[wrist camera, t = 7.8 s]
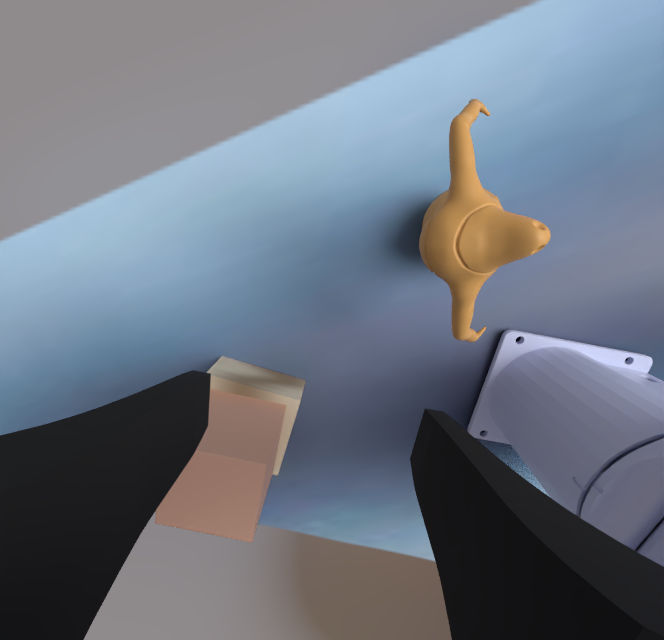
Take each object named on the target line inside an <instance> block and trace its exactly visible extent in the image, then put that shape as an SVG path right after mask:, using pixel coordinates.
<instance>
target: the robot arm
mask: <svg viewBox="0 0 664 640" xmlns="http://www.w3.org/2000/svg"><path fill="white" fill-rule="evenodd" d="M519 336H521V339H520V341H518V342H516V339H517V337H519ZM626 358H628V359H627V361H625V360H626ZM652 363H653V361H652V359H651V357H648V356H646V355H644V354H639V353H633V352H628V351H623V350H618V349H612V348H607V347H602V346H596V345H591V344H586V343H580V342H575V341H570V340H565V339H559V338H554V337H549V336H543V335H538V334H533V333H527V332H522V331H517V330H506V331H505V332H504V333H503V334H502V336H501V339H500V341H499V344H498V347H497V349H496V352H495V355H494V358H493V360H492V363H491V366H490V368H489V371H488V374H487V377H486V379H485V382H484V385H483V387H482V390H481V393H480V396H479V398H478V401H477V404H476V406H475V409H474V412H473V415H472V417H471V420H470V423H469V425H468V429H467V431H468V432H467V431H466V430H465V429H464V428H463V427H461V426H460V425H459V424H458V423H457V422H456V421H454V420H453V419H452V418H451V417H450V416H448V415H447V414H446V413H444V412H442V411H436V410H430V409H425V410H424V414H423V417H422V420H421V424H420V427H419V431H418V434H417V437H416V441H415V444H414V448H413V451H412V454H411V458H410V460H411V467H412V474H413V480H414V486H415V491H416V495H417V498H418V502H419V505H420V509H421V512H422V516H423V519H424V523H425V526H426V530H427V533H428V537H429V540H430V543H431V547H432V550H433V554H434V557H435V561H436V564H437V568H438V572H439V576H440V580H441V585H442V590H443V595H444V600H445V605H446V610H447V615H448V620H449V625H450V631H451V637H452V640H664V381H662V380H660V379H658V378H656V377H654V376H652V375H650V374H648V371H649V369H650V367H651V366H652ZM210 382H211V373H205V372H198V371H190V372H187V373H184V374H181V375H179V376H176V377H174V378H172V379H169V380H167V381H165V382H162V383H160V384H157V385H155V386H153V387H150V388H148V389H146V390H143V391H141V392H138V393H136V394H133V395H131V396H128V397H126V398H123V399H120V400H118V401H115V402H112V403H110V404H107V405H104V406H102V407H99V408H96V409H93V410H91V411H88V412H85V413H82V414H78V415H75V416H72V417H69V418H65V419H62V420H59V421H55V422H52V423H49V424H45V425H41V426H37V427H33V428H29V429H25V430H21V431H17V432H13V433H9V434H5V435H1V436H0V640H83V639H84V637H85V635H86V634H87V631H88V629H89V628H90V626H91V624H92V622H93V620H94V618H95V616H96V614H97V612H98V610H99V609H100V607H101V605H102V603H103V601H104V599H105V597H106V596H107V593H108V592H109V590H110V588H111V586H112V584H113V582H114V580H115V579H116V577H117V575H118V573H119V571H120V570H121V567H122V566H123V564H124V562H125V561H126V559H127V557H128V555H129V553H130V551H131V550H132V548H133V546H134V544H135V543H136V541H137V539H138V537H139V536H140V534H141V532H142V530H143V529H144V527H145V526H146V524H147V523H148V521H149V520H150V518H151V517H152V515H153V513H154V512H155V511H156V509H157V508H158V506H159V505H160V503H161V502H162V501H163V499H164V498H165V496H166V495H167V493H168V492H169V490H170V489H171V487H172V486H173V484H174V483H175V481H176V480H177V479H178V477H179V476H180V474H181V473H182V471H183V470H184V468H185V467H186V465H187V464H188V462H189V461H190V459H191V458H192V456H193V455H194V453H195V451H196V449H197V447H198V445H199V443H200V442H201V440H202V437H203V435H204V433H205V431H206V429H207V427H208V419H209V401H210ZM483 430H485V431H484V432H483V433H480V432H481V431H483ZM475 438H478V439H483V440H489V441H494V442H499V443H505V444H510V445H512V447H513V448H514V449H515V451H516V452H517V453H518V455H519V456H520V457H521V459H522V460H523V461H524V463H525V464H526V465H527V467H528V468H529V469H530V471H531V472H532V473H533V475H534V476H535V477H536V479H537V480H538V481H539V483H540V484H541V485H542V487H543V488H544V489H545V491H546V492H547V493H548V495H549V496H550V497H551V498H550V497H549V496H547V495H546V494H544V493H543V492H541V491H540V490H539V489H537V488H536V487H534V486H533V485H532V484H530V483H529V482H528V481H526V480H525V479H524V478H523V477H521V476H520V475H519V474H517V473H516V472H515V471H514V470H512V469H511V468H510V467H509V466H507V465H506V464H505V463H504V462H502V461H501V460H500V459H499V458H497V457H496V456H495V455H494V454H493V453H491V452H490V451H489V450H488V449H487V448H486V447H484V446H483V445H482V444H481V443H480V442H479V441H478V440H476V439H475Z"/></svg>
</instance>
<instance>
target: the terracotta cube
mask: <svg viewBox="0 0 664 640" xmlns="http://www.w3.org/2000/svg"><path fill="white" fill-rule="evenodd" d="M285 410H286V405H284V404H279V403H274V402H270V401H265V400H260V399H256V398H251V397H246V396H241V395H237V394H232V393H227V392H222V391H218V390H213V389H210V401H209V419H208V427H207V429H206V431H205V433H204V435H203V437H202V440H201V442H200V443H199V445H198V447H197V449H196V451H195V453H194V455H193V456H192V458H191V459H190V461H189V462H188V464H187V465H186V467H185V468H184V470H183V471H182V473H181V474H180V476H179V477H178V479H177V480H176V481H175V483H174V484H173V486H172V487H171V489H170V490H169V492H168V493H167V495H166V496H165V498H164V499H163V501H162V502H161V503H160V505H159V506H158V508H157V509H156V520H155V523H156V524H161V525H167V526H171V527H176V528H182V529H187V530H192V531H196V532H202V533H206V534H211V535H217V536H221V537H226V538H232V539H236V540H241V541H246V542H253V538H254V535H255V532H256V528H257V525H258V521H259V518H260V515H261V511H262V508H263V504H264V501H265V497H266V494H267V491H268V487H269V484H270V480H271V477H272V474H273V470H274V466H275V461H276V455H277V450H278V445H279V440H280V435H281V430H282V425H283V420H284V415H285Z"/></svg>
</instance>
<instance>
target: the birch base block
mask: <svg viewBox="0 0 664 640" xmlns="http://www.w3.org/2000/svg"><path fill="white" fill-rule="evenodd" d="M206 373H211V382H210V389H213V390H218V391H222V392H227V393H232V394H237V395H241V396H246V397H251V398H256V399H260V400H265V401H270V402H274V403H279V404H284V405H286V410H285V415H284V420H283V425H282V430H281V435H280V440H279V445H278V450H277V455H276V461H275V466H274V470H273V475H276V476H278V473H279V470H280V467H281V463H282V460H283V457H284V453H285V450H286V447H287V444H288V440H289V437H290V434H291V431H292V427H293V424H294V421H295V418H296V414H297V411H298V408H299V405H300V401H301V397H302V394H303V390H304V386H305V382H306V380H303V379H300V378H296V377H293V376H289V375H286V374H282V373H279V372H275V371H272V370H269V369H265V368H262V367H258V366H255V365H251V364H248V363H244V362H241V361H237V360H234V359H231V358H227V357H224V356H221V357H220V359H219V360H218V361H217V362H216V363H215V364H214V365H213V366H212V367H211V368H210V369H209V370H208V371H207V372H206Z"/></svg>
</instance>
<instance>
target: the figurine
mask: <svg viewBox="0 0 664 640" xmlns="http://www.w3.org/2000/svg"><path fill="white" fill-rule="evenodd" d="M479 111H480V112H482V113H484V114H485V115H487V116H490V113H489V112H488V110H487V109H486V107H485V105H484V104H483V103H482V102H481V101H479V100H477V99H472V100H470V101H469V104H468V105H467V106H466V107H465V108H464V109H463V110H462V111H461V113H460V114H459V115H457V116H456V117H455V118H454V119H453V121H452V123H451V126H450V133H449V156H450V172H451V181H450V187H449V190H447V191H445V192H444V193H442V194H441V195H439V196H438V197H437V198H436V199H435V200H434V201H433V202H432V203H431V205H430V206H429V208H428V209H427V211H426V213H425V216H424V219H423V223H422V232H421V235H420V240H419V250H420V254H421V257H422V260H423V261H424V263H425V265H426V266H427V267H428V269H429V270H430V271H431V272H434V273H435V275H437V276H438V277H440V278H441V279H443V280H444V281H445V282H446V283H447V284H448V285H449V287H450V291H451V295H452V332H453V336H454V337H455V338H456V339H457V340H465V341H468V342H475V341H476V340H477V339H478V338H479V337H480V336H481V335H482V333H483V332H484V330H485V329H486V327H484V328H482V329H481V330H480V331H478V332H475V331H474V330H473V329H471V328H470V324H471V321H472V316H473V311H474V302H475V299H476V297H477V294H478V292H479V290H480V288H481V287H482V285H483V283H484V282H485V281H486V280H487V279H488V278H489V277H490V276H491V275H492V274H493V273H494V272H495V271H496V270H497V268H498V267H500V266H502V265H505V264H507V263H510V262H513V261H516V260H519V259H522V258H525V257H527V256H530V255H532V254H534V253H536V252H538V251H540V250H541V249H542V248H543V247H545V246H546V244H547V243H548V242H549V240H550V231H549V229H548V228H547V227H546V226H545V225H544V224H543V223H541V222H539V221H537V220H535V219H532V218H529V217H525V216H521V215H517V214H514V213H510V212H507V211H504V210H503V208H502V206H501V204H500V202H499V199H498V197H497V196H495V195H493V194H492V193H491V192H489V191H488V190H486V189H484V188H483V187H482V185H481V183H480V181H479V178H478V176H477V173H476V168H475V155H474V149H473V144H472V139H471V135H470V127H471V125H472V123H473V122H474V121H475V120H476V118H477V116H478V114H479Z"/></svg>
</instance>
